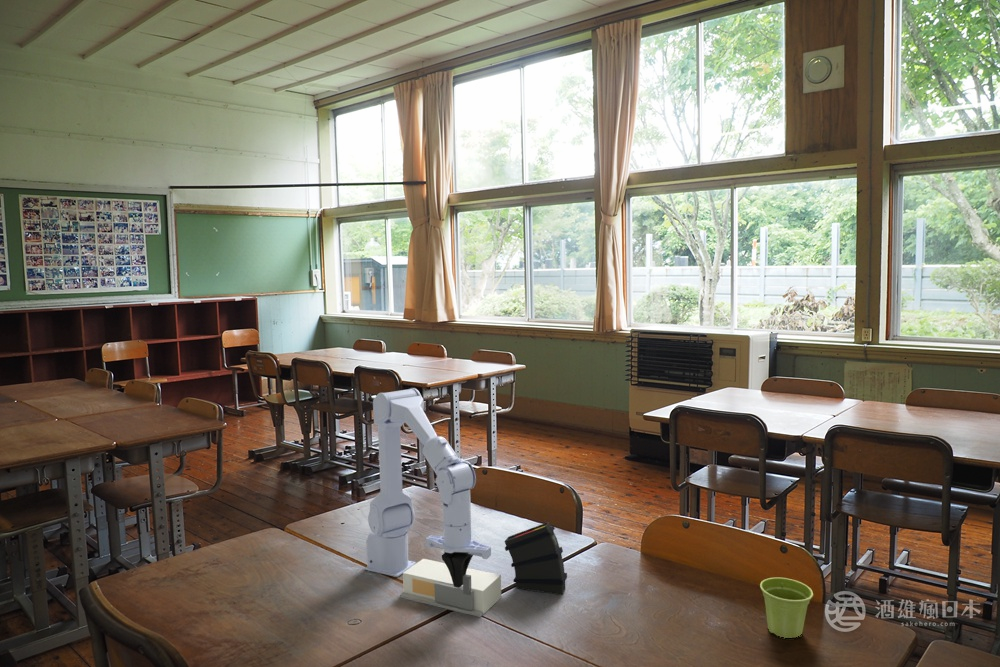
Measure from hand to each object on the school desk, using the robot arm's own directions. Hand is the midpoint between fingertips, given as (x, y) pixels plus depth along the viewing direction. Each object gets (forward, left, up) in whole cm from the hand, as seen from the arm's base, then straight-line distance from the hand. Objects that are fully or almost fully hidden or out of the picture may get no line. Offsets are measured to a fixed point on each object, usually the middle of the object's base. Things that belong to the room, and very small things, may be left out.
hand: (458, 585), depth 142 cm
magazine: (+10, +16, -6) cm, 20 cm away
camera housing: (-5, +5, -6) cm, 9 cm away
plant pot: (+61, +20, -6) cm, 65 cm away
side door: (-1, 0, -5) cm, 5 cm away
